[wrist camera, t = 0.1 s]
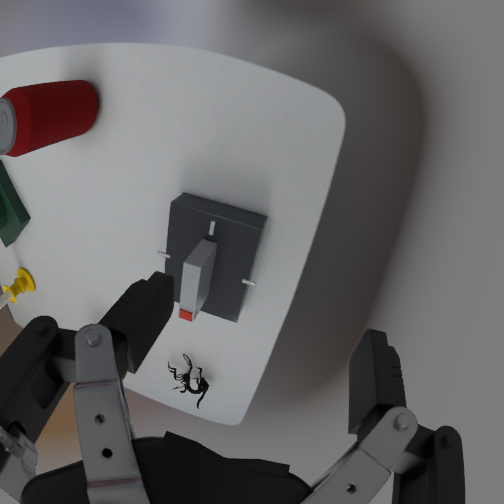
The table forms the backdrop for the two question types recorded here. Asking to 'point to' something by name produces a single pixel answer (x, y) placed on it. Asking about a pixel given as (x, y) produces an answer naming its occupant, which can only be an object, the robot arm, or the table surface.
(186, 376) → the creature
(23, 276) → the candle
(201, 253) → the tap handle
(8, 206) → the button box
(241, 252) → the plate
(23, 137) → the beverage can
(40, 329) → the robot arm
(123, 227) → the table surface
